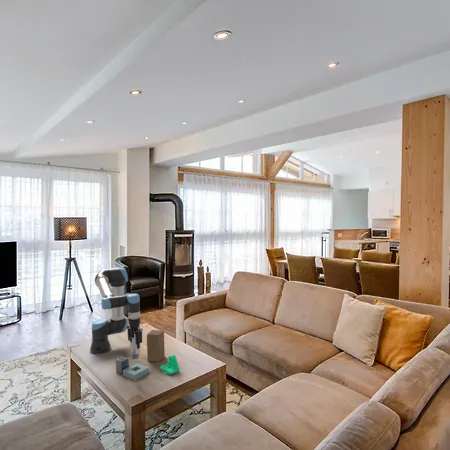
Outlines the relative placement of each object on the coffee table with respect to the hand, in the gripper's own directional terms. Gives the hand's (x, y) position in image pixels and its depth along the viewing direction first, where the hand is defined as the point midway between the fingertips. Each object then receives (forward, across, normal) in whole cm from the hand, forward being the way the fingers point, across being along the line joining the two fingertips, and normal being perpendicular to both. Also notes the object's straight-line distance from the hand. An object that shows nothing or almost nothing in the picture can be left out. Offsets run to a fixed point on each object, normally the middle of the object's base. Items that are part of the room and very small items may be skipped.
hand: (135, 352), depth 216 cm
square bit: (+15, -10, -3) cm, 18 cm away
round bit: (+4, 0, 0) cm, 4 cm away
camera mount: (+15, +16, +16) cm, 27 cm away
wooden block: (+15, -5, +23) cm, 28 cm away
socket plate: (+15, 0, 0) cm, 15 cm away
